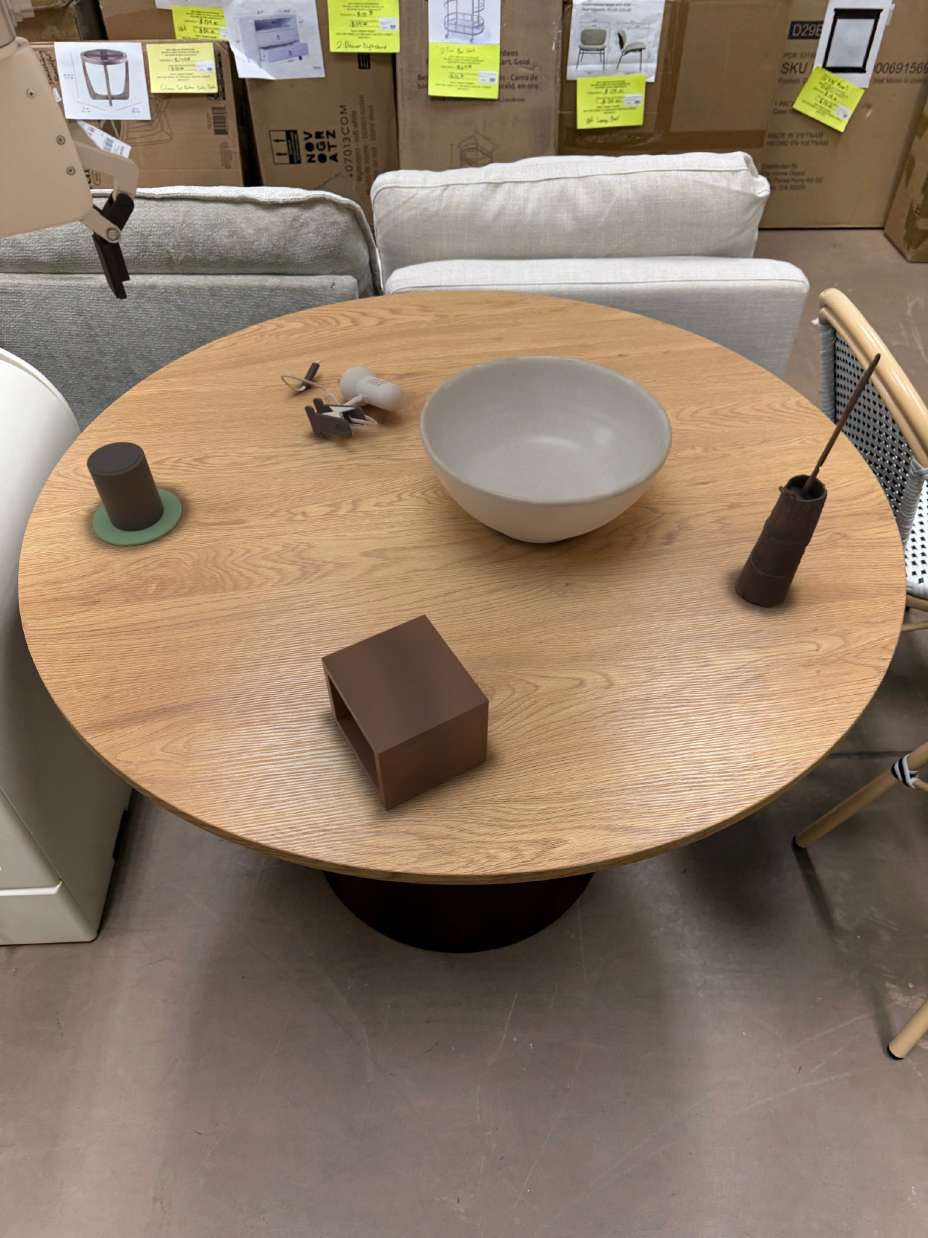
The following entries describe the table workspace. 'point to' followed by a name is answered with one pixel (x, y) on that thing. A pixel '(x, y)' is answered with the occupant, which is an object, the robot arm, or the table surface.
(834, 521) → the table surface
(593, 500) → the decorative bowl
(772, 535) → the butter churn
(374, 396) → the clip-on lamp
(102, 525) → the mat
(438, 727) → the box
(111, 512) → the dark brown cylinder
